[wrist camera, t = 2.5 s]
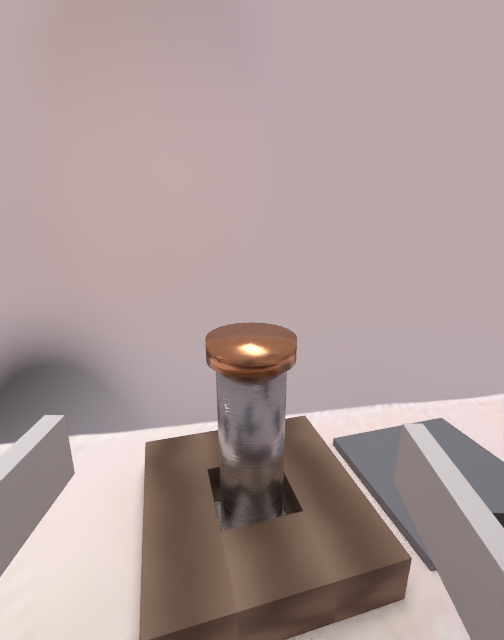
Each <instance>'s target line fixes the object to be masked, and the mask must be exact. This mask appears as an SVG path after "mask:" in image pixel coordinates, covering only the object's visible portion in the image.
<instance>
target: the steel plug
mask: <svg viewBox="0 0 504 640" xmlns="http://www.w3.org/2000/svg"><path fill="white" fill-rule="evenodd" d="M205 340H206V360H207V364H208V366H209V367H210V368H212V369H213V370H215V371H216V384H217V412H218V438H219V464H220V491H221V517H222V531H224V530H228V529H232V528H236V527H240V526H245V525H249V524H253V523H257V522H261V521H265V520H269V519H273V518H277V517H281V516H282V505H283V473H284V441H285V408H286V376H287V371H288V370H289V369H291V368H292V367H293V366H294V364H295V362H296V350H297V337H296V335H295V334H294V333H293V332H292V331H290V330H289V329H286V328H284V327H281V326H277V325H272V324H266V323H237V324H231V325H226V326H222V327H219V328H216V329H214V330H212V331H211V332H209V333H208V334H207V336H206V339H205Z"/></svg>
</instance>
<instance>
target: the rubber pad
mask: <svg viewBox="0 0 504 640" xmlns="http://www.w3.org/2000/svg"><path fill="white" fill-rule="evenodd" d="M412 424H423V425H424V426H425V427H426V428H427V430H428V431H429V432H430V434H431V435H432V436H433V437H434V439H435V440H436V441H437V443H438V444H439V445H440V446H441V448H442V449H443V450H444V452H445V453H446V454H447V456H448V457H449V458H450V459H451V461H452V462H453V463H454V465H455V466H456V467H457V468H458V470H459V471H460V472H461V474H462V475H463V476H464V477H465V479H466V480H467V481H468V483H469V484H470V485H471V487H472V488H473V489H474V490H475V492H476V493H477V494H478V496H479V497H480V498H481V499H482V501H483V502H484V503H485V505H486V506H487V507H488V509H489V510H490V511H491V512H492V513H504V462H503V461H501V460H500V459H499V458H497V457H496V456H494V455H493V454H492V453H490V452H489V451H487V450H486V449H484V448H483V447H482V446H480V445H479V444H477V443H476V442H475V441H473V440H472V439H470V438H469V437H468V436H466V435H465V434H463V433H462V432H461V431H459V430H458V429H456V428H455V427H454V426H452V425H451V424H449V423H448V422H447V421H445V420H444V419H442V418H438V419H433V420H428V421H422V422H417V423H412ZM401 431H402V425H401V426H396V427H391V428H386V429H380V430H375V431H370V432H365V433H359V434H354V435H349V436H344V437H338V438H334V440H333V445H334V447H335V448H336V449H337V450H338V452H339V453H340V454H341V456H342V457H343V458H344V459H345V461H346V462H347V463H348V465H349V466H350V467H351V468H352V470H353V471H354V472H355V474H356V475H357V476H358V477H359V479H360V480H361V481H362V483H363V484H364V485H365V486H366V488H367V489H368V490H369V492H370V493H371V494H372V495H373V497H374V498H375V499H376V501H377V502H378V503H379V504H380V506H381V507H382V508H383V510H384V511H385V512H386V513H387V515H388V516H389V517H390V519H391V520H392V521H393V522H394V524H395V525H396V526H397V528H398V529H399V530H400V532H401V533H402V534H403V535H404V537H405V538H406V539H407V541H408V542H409V543H410V544H411V546H412V547H413V548H414V550H415V551H416V552H417V553H418V555H419V556H420V557H421V559H422V560H423V561H424V562H425V564H426V565H427V566H428V568H429V569H430V570H431V571H432V570H435V569H436V567H435V565H434V563H433V561H432V559H431V557H430V555H429V553H428V551H427V549H426V547H425V545H424V543H423V541H422V539H421V537H420V535H419V533H418V531H417V529H416V527H415V525H414V523H413V521H412V519H411V517H410V515H409V513H408V511H407V509H406V507H405V505H404V503H403V501H402V499H401V497H400V495H399V493H398V491H397V489H396V486H395V484H394V482H393V480H394V474H395V468H396V462H397V456H398V450H399V443H400V437H401Z"/></svg>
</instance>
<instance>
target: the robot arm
mask: <svg viewBox="0 0 504 640" xmlns="http://www.w3.org/2000/svg"><path fill="white" fill-rule="evenodd" d="M74 474H75V472H74V466H73V461H72V455H71V449H70V444H69V438H68V432H67V427H66V421H65V416H64V415H45V416H44V417H43V418H42V419H40V420H39V421H38V422H37V423H36V424H35V425H34V426H33V427H32V428H31V429H30V430H29V431H28V432H26V433H25V434H24V435H23V436H22V437H21V438H20V439H19V440H18V441H17V442H16V443H15V444H14V445H12V446H11V447H10V448H9V449H8V450H7V451H6V452H5V453H4V454H3V455H2V456H1V457H0V576H1V575H2V574H3V572H4V571H5V569H6V568H7V567H8V565H9V564H10V562H11V561H12V560H13V558H14V557H15V556H16V554H17V553H18V551H19V550H20V549H21V547H22V546H23V544H24V543H25V542H26V540H27V539H28V537H29V536H30V535H31V533H32V532H33V531H34V529H35V528H36V526H37V525H38V524H39V522H40V521H41V519H42V518H43V517H44V515H45V514H46V513H47V511H48V510H49V508H50V507H51V506H52V504H53V503H54V501H55V500H56V499H57V497H58V496H59V494H60V493H61V492H62V490H63V489H64V488H65V486H66V485H67V483H68V482H69V481H70V479H71V478H72V476H73V475H74ZM393 482H394V484H395V486H396V489H397V491H398V493H399V495H400V497H401V499H402V501H403V503H404V505H405V507H406V509H407V511H408V513H409V515H410V517H411V519H412V521H413V523H414V525H415V527H416V529H417V531H418V533H419V535H420V537H421V539H422V541H423V543H424V545H425V547H426V549H427V551H428V553H429V555H430V557H431V559H432V561H433V563H434V565H435V567H436V569H437V571H438V573H439V576H440V578H441V580H442V582H443V584H444V586H445V588H446V590H447V592H448V594H449V596H450V598H451V600H452V602H453V604H454V606H455V608H456V610H457V612H458V614H459V616H460V618H461V620H462V622H463V624H464V626H465V628H466V630H467V632H468V634H469V636H470V638H471V640H504V513H492V512H491V511H490V510H489V509H488V507H487V506H486V505H485V503H484V502H483V501H482V499H481V498H480V497H479V496H478V494H477V493H476V492H475V490H474V489H473V488H472V487H471V485H470V484H469V483H468V481H467V480H466V479H465V477H464V476H463V475H462V474H461V472H460V471H459V470H458V468H457V467H456V466H455V465H454V463H453V462H452V461H451V459H450V458H449V457H448V456H447V454H446V453H445V452H444V450H443V449H442V448H441V446H440V445H439V444H438V443H437V441H436V440H435V439H434V437H433V436H432V435H431V434H430V432H429V431H428V430H427V428H426V427H425V426H424V425H423V424H410V423H403V425H402V431H401V437H400V443H399V450H398V456H397V462H396V468H395V474H394V480H393Z"/></svg>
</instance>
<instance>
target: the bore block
mask: <svg viewBox="0 0 504 640" xmlns="http://www.w3.org/2000/svg"><path fill="white" fill-rule="evenodd" d="M218 500H221V491H220V464H219V438H218V430H216V431H210V432H204V433H198V434H192V435H186V436H180V437H174V438H168V439H162V440H156V441H151V442H146V447H145V478H144V510H143V541H142V573H141V605H140V636H139V640H284V639H287V638H290V637H293V636H296V635H299V634H302V633H305V632H308V631H311V630H313V629H316V628H319V627H322V626H325V625H328V624H331V623H334V622H337V621H340V620H343V619H346V618H348V617H351V616H354V615H357V614H360V613H363V612H366V611H369V610H372V609H375V608H378V607H381V606H383V605H386V604H389V603H392V602H395V601H398V600H401V599H404V597H405V591H406V586H407V581H408V575H409V570H410V565H411V559H412V558H411V557H410V555H409V554H408V553H407V551H406V550H405V549H404V547H403V546H402V545H401V543H400V542H399V541H398V539H397V538H396V537H395V535H394V534H393V533H392V531H391V530H390V529H389V527H388V526H387V525H386V523H385V522H384V521H383V519H382V518H381V517H380V515H379V514H378V513H377V511H376V510H375V509H374V507H373V506H372V505H371V503H370V502H369V501H368V499H367V498H366V497H365V495H364V494H363V493H362V491H361V490H360V489H359V487H358V486H357V485H356V483H355V482H354V480H353V479H352V478H351V476H350V475H349V474H348V472H347V471H346V470H345V468H344V467H343V466H342V464H341V463H340V462H339V460H338V459H337V458H336V456H335V455H334V454H333V452H332V451H331V450H330V448H329V447H328V446H327V444H326V443H325V442H324V440H323V439H322V438H321V436H320V435H319V434H318V432H317V431H316V430H315V428H314V427H313V426H312V424H311V423H310V422H309V420H308V419H307V418H306V416H300V417H294V418H288V419H285V441H284V473H283V507H284V510H285V512H286V514H287V515H285V516H281V517H277V518H273V519H269V520H265V521H261V522H257V523H253V524H249V525H245V526H240V527H236V528H232V529H228V530H224V531H220V527H219V522H218V517H217V513H216V508H215V503H214V501H218Z"/></svg>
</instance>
